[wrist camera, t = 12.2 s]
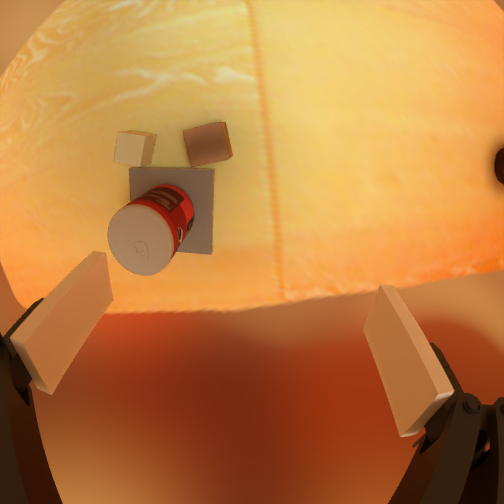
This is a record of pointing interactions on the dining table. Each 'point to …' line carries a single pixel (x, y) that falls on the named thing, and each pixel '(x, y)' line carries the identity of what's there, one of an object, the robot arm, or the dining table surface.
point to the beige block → (134, 148)
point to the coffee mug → (500, 165)
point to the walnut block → (208, 144)
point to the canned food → (151, 229)
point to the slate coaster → (199, 191)
